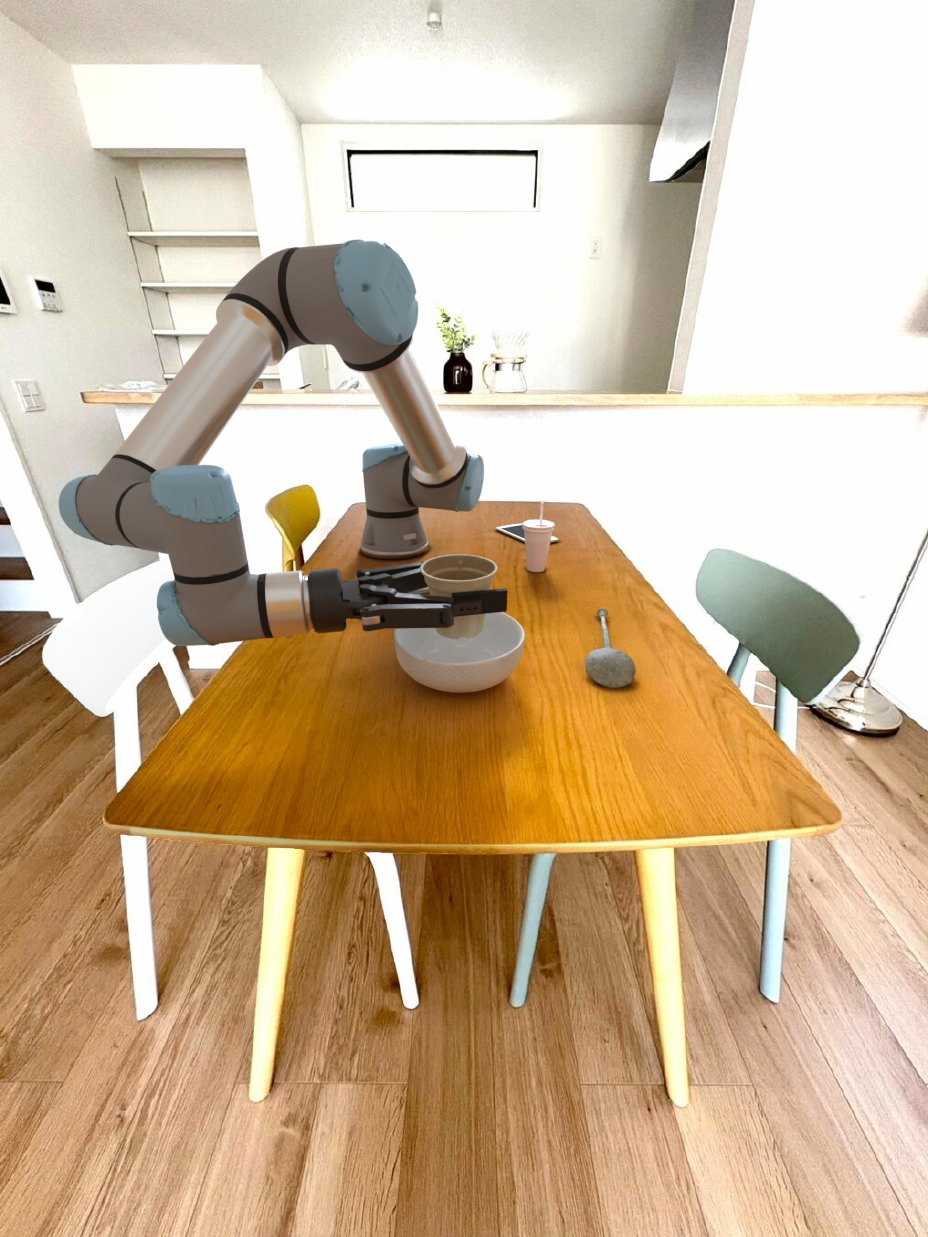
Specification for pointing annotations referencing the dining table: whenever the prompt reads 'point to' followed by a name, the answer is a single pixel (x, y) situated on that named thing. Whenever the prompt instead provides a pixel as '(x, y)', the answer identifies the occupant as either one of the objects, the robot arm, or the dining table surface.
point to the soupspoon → (609, 661)
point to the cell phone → (517, 532)
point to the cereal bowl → (462, 655)
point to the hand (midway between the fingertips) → (495, 585)
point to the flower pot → (459, 586)
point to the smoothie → (537, 542)
